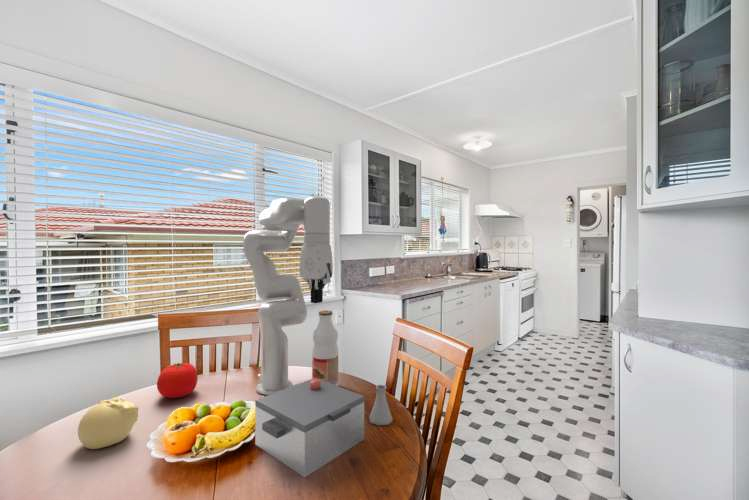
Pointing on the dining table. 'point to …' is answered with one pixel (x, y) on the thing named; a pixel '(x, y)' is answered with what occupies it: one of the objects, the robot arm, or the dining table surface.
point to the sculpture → (107, 423)
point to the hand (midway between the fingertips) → (316, 302)
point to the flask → (380, 408)
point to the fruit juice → (325, 350)
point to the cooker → (308, 439)
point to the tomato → (177, 380)
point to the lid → (310, 403)
